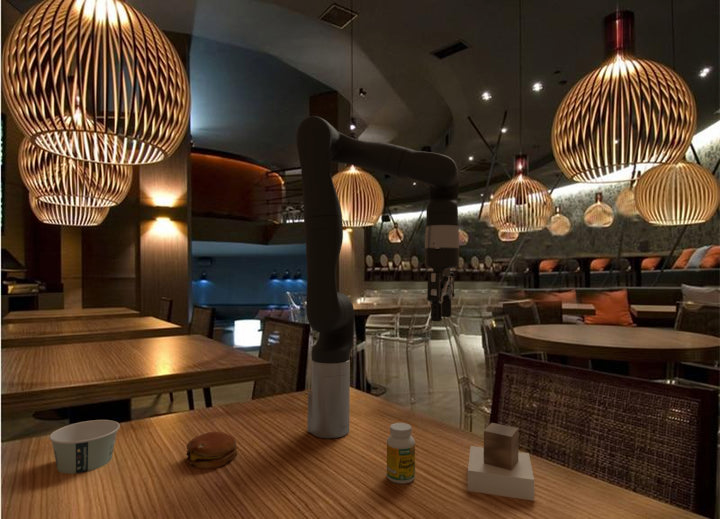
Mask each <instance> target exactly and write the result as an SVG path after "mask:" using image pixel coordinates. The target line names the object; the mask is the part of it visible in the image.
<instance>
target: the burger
mask: <svg viewBox="0 0 720 519" xmlns="http://www.w3.org/2000/svg"><path fill="white" fill-rule="evenodd" d="M237 449H238V446H237V441H236V439H235V438H234V436H232V435H230V434H229V433H226V432H223V431H209V432H206V433H205V432H204V433H203V434H200V435H197V436H195V437H193V438H192V439H191V440H190V441H188V443H187V444H186V450H187V452H186V456H187V458H186V459H185V460H186V461H188V463H189V464H190V465H194V467H195V468H196V469H199V470H211V469H216V468H219V467H220V468H221V467H222V466H224V465H226V464H227V463H228V462H230V461H232V460H234V458H236V456H237V455H238V450H237Z"/></svg>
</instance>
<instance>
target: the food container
mask: <svg viewBox="0 0 720 519" xmlns="http://www.w3.org/2000/svg"><path fill="white" fill-rule="evenodd" d="M120 427H121V425H120V423H119V422H118V421H115V420H109V419H95V420H93V419H92V420H86V421H79V422H76V423H70V424H68V425H65V426H62V427H60V428H58V429H56V430H53V432H51V433H50V434H49V436H48V439H49V441H50V442H51V443H52V449H53V454H54V459H55V464H56V470H57V472H59V473H63V474H71V475H72V474H81V473H85V472H86V473H88V472H90V471H94V470H97V469H99V468H102V467H104V466H105V465H107V464H109V463H110V461H112V459H113V453H114V449H115V442H116V438H117V432H118V431H119V429H120Z"/></svg>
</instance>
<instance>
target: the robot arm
mask: <svg viewBox="0 0 720 519" xmlns="http://www.w3.org/2000/svg"><path fill="white" fill-rule="evenodd" d="M295 140H296V141H295V142H296V146H297V148H296V149H297V152H298V153H297V154H298V159H299V165H300V166H299V167H300V172H301V182H302V183H301V184H302V202H303V204H302V205H303V227H304V238H305V254H306V255H305V256H306V257H305V258H306V271H307V272H306V274H307V275H306V276H307V277H306V301H305V302H306V303H305V306H306V307H305V313H306V318H307V322H308V324H309V326H310V327H311V329H313V331H314V332H316V333H318V337H317V338H318V339H317V341H316V343H315V344H314V346H312V349H311V369H310V370H311V372H310V373H311V380H310V381H311V384H310V385H311V390H309V391H308V392H307V417H306V418H307V433H311V435H313V436H315V437H318V438H321V439H337V438H340V437H341V438H342V437H344V436H346V435H348V434H349V432H350V422H351V421H350V402H351V401H350V399H351V396H350V394H351V392H350V391H351V390H350V389H351V388H350V387H351V386H350V384H351V383H350V380H351V377H350V376H351V373H350V372H351V367H350V366H351V359H350V358H351V352H352V348H353V344H354V329H355V309H354V305H353V302H352V300H351V298H350V297H349V296H348V295H346V294H344V293H342V292H339V291H338V288H337V279H336V278H337V265H338V261H339V258H340V253H341V249H342V245H343V241H344V229H343V228H344V227H343V225H344V224H343V214H342V207H341V204H340V200H339V197H338V194H337V191H336V188H335V184H334V181H333V177H332V172H331V171H332V169H331V163H337V164H338V163H339V164H346V165H351V166H356V167H361V168H364V169H367V170H370V171H374V172H377V173H380V174H384V175H388V176H390V177H394V178H397V179H400V180H407V181H409V180H414V181H418V182H422V183H425V184H428V190H429V191H428V192H429V193H428V194H429V195H428V196H429V197H428V199H429V200H428V201H429V202H428V203H427V205H426V211H425V212H426V213H425V214H426V217H425V218H426V222H425V225H426V228H425V235H424V266H425V267H426V268H432V272H427V291H426V292H427V296H426V299H427V301H428V302H429V304H430V320H431V321H432V322H442V321H443V318H450V317H451V316H452V301H453V298H454V297H455V273H454V272H453V271H451V269H457V268H459V267H460V234H459V209H458V200H459V189H460V173H459V168H458V165H457V164H456V162H455V160H454V159H452V158H451V157H450V156H448V155H446V154H442V153H439V152H438V153H437V152H431V151H424V150H423V151H422V150H421V151H420V150H415V149H411V148H408V147H405V146H400V145H396V144H392V143H388V142H379V141H378V142H377V141H375V142H374V141H365V140H359V139H356V138H353V137H350V136H348V135H346V134H343V133H342V132H340V131H338V130H337V129H336V128H335V127H334V126H333V125H332V124H330V122H328V121H327V120H325V119H324V118H322V117H320V116H318V115H310V116H308V117H305V118H304V119H302V121H301V122H300V124H299V125H298V127H297V130H296V138H295Z"/></svg>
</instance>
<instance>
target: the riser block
mask: <svg viewBox="0 0 720 519" xmlns="http://www.w3.org/2000/svg"><path fill="white" fill-rule="evenodd" d="M467 466H468V467H467V491H468V492H474V493H479V494H480V493H481V494H487V495H492V496H498V497H499V496H500V497H508V498H512V499H513V498H514V499H520V500H521V499H522V500H526V501H527V500H528V501H531V502H532V501H533V502H535V477H534V472H533V467H532V462H531V458H530V453H529V452H522V451H521V452H520V451H518V462H517V463H516V465H515V466H514V468H513V469H512V471H511V470H507V469H503V468H499V467H495V466H492V465H488V464H484V446H481V447H480V446H476V445H475V446H473V445H470V449H469V458H468V465H467Z"/></svg>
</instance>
